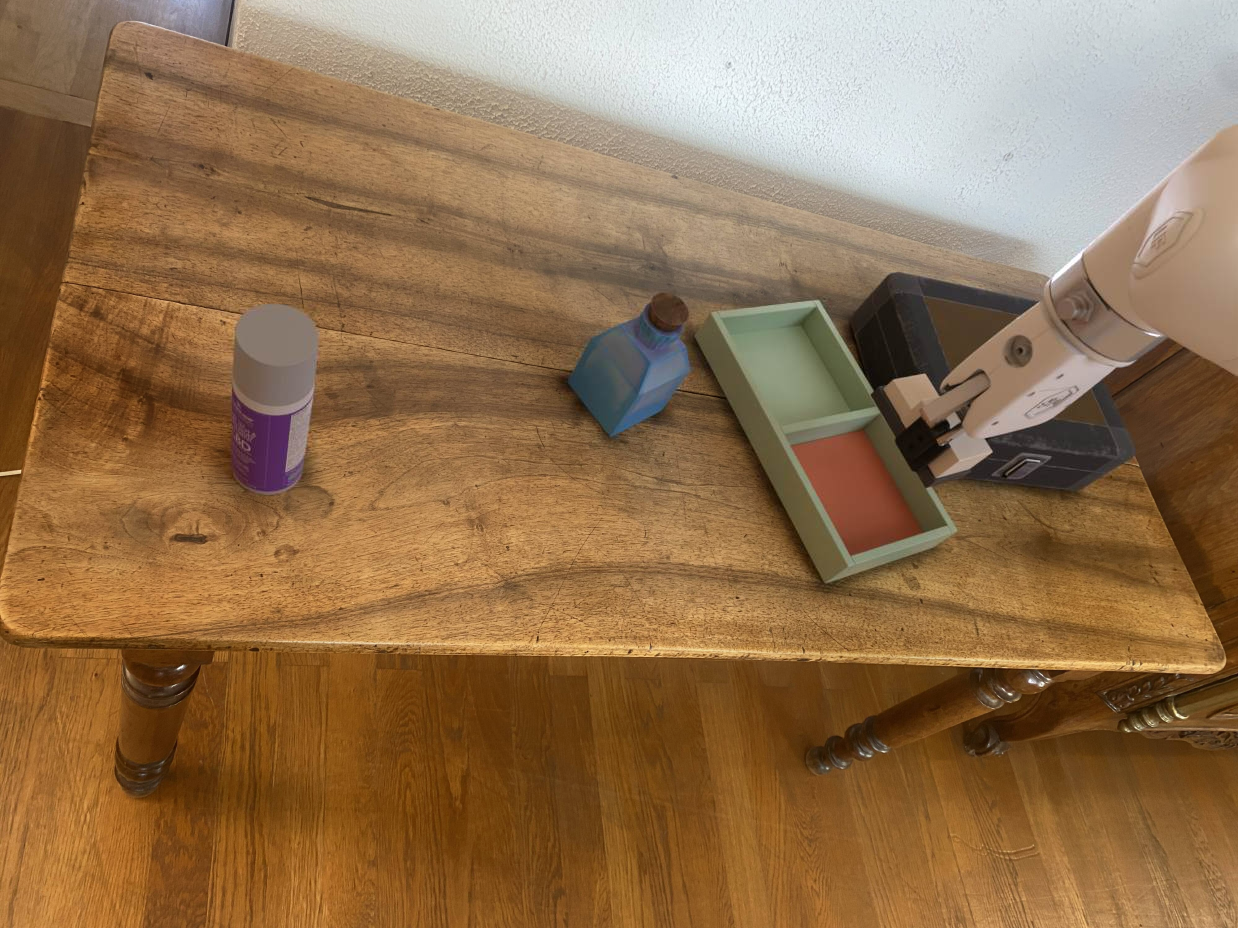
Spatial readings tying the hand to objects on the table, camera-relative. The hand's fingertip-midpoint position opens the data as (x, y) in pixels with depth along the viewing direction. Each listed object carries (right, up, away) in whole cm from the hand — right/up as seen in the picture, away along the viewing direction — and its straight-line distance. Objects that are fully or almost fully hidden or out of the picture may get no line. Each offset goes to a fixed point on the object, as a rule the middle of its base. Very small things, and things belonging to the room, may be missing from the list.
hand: (929, 449), depth 71 cm
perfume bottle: (-26, +5, +6) cm, 27 cm away
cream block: (-1, +1, +1) cm, 2 cm away
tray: (-7, +1, +11) cm, 13 cm away
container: (-50, -1, -9) cm, 51 cm away
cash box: (+12, +5, +22) cm, 26 cm away
